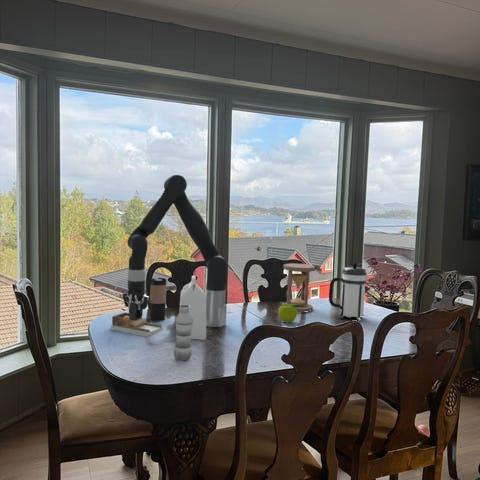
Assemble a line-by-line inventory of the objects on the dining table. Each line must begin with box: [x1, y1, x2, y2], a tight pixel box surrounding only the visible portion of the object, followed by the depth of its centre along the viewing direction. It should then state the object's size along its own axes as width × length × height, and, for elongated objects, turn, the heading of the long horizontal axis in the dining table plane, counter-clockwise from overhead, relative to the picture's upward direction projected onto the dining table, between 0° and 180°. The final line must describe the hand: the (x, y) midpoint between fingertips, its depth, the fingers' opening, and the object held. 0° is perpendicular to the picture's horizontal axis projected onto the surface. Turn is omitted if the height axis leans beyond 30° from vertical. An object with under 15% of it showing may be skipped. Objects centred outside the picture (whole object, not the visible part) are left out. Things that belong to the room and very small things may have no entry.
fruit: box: [278, 301, 298, 323], centre depth 232 cm, size 9×9×10 cm
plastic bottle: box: [173, 305, 193, 361], centre depth 171 cm, size 6×7×20 cm
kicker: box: [126, 302, 146, 327], centre depth 208 cm, size 5×7×10 cm
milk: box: [178, 275, 207, 340], centre depth 202 cm, size 12×12×26 cm
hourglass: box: [281, 263, 316, 312], centre depth 262 cm, size 18×18×25 cm
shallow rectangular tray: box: [109, 321, 164, 337], centre depth 208 cm, size 20×12×2 cm, turn 65°
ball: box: [123, 316, 129, 324], centre depth 210 cm, size 4×4×4 cm
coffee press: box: [328, 262, 370, 318], centre depth 246 cm, size 17×16×30 cm
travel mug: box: [149, 277, 167, 322], centre depth 227 cm, size 8×8×20 cm
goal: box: [111, 312, 129, 327], centre depth 211 cm, size 6×8×4 cm, turn 155°
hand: (135, 316), depth 208 cm, fingers open, 4 cm apart
